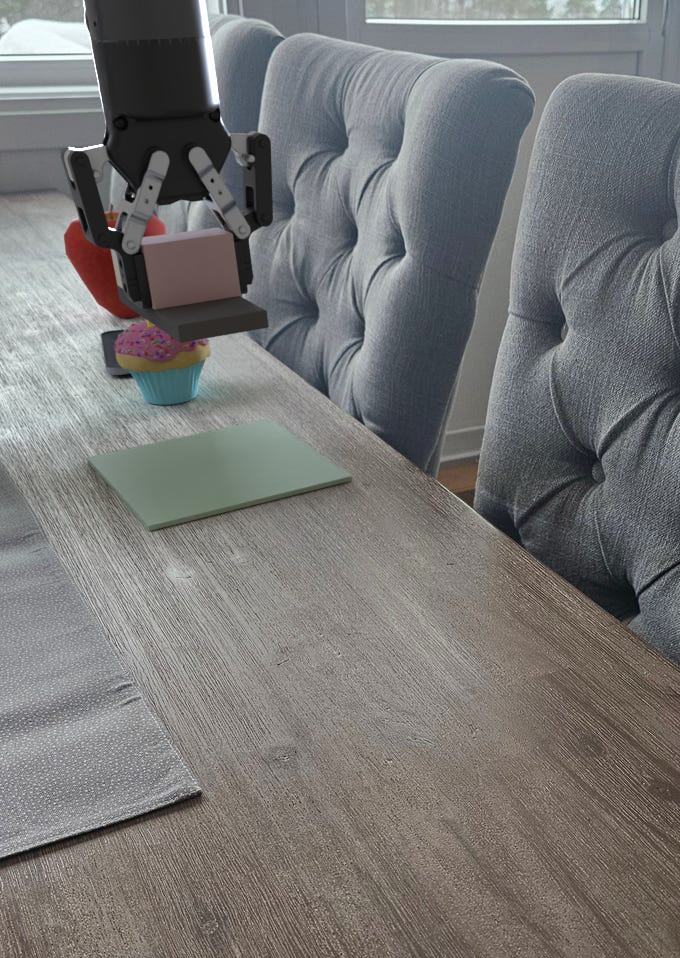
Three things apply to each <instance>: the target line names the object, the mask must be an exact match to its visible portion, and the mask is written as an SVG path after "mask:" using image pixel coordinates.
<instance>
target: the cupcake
mask: <svg viewBox="0 0 680 958" xmlns="http://www.w3.org/2000/svg"><path fill="white" fill-rule="evenodd" d="M124 329H125V330H124V331H123V332H122V334H119V335H118V339H117V340H116V342H115V346H114V350H115V352H116V359H117V362H118V363H119V365H120V366H121V367H122V368H124V369H127V370H129V372H130V373H129V374H130V375H131V377H132V378H133V380H134V381H135V383H136V385H137V386H138V388H139V390H140V392H141V394H142V396H143V399H144V400H145V401H146V402H147V403H148V404H152V405H157V406H170V405H171V406H172V405H178V404H183V403H186V402H189V401H192V400H193V399H195V398H196V397H197V396H198V390H199V382H200V378H201V373H202V370H203V367H204V365H205V363H206V361H207V358H209V357H211V355H212V350H211V346H210V345H211V344H210V340H209V338H206V339H200V340H194V341H188V342H183V343H180V342H179V341H177V340H176V339H174V338H173V337H171V336H170V335H168V334H167V333H166V332H164V331H163V330H161V329H160V328H158V327H157V326H155V325H154V324H153V323H151V322H150V321H148V320H147V319H144V320H142V321H139V322H136V323H131V324H130V326H128V327H127V328H124Z"/></svg>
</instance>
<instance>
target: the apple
mask: <svg viewBox="0 0 680 958" xmlns="http://www.w3.org/2000/svg"><path fill="white" fill-rule="evenodd" d="M104 212H105V216H106V219H107V223H108V226H109V228H113V229H114V228H115V225H116V221H117V218H118V215H119V210H114V205H113V204H112V202H110V207H109V211H104ZM166 229H167V228H166V225H165V223H164V222H163V221H162V220H161V219H160V218H159V217H158V216H156V214H154V213H153V214H152V218H151V220H150V222H149V223H148V224H147V226H146V229H145V232H144V235H143V237H149V236H157V235H165V234H167V230H166ZM63 241H64V250H65V251H64V252H65V255H66V257H67V259H68V260H69V262H70V263H71V265H72V267H73V268H74V270H75V271H76V273H77V275H78V276H79V278H80V279H81V281H82V283H83V284H84V286H85V287H86V288H87V290H88V291H89V293H90V294H91V296H92V297H93V299H94V300H95V302H96V303H97V305H99V306H100V307H102V308H103V309H105V310H106V311H107V312H108V313H110V314H111V315H112V316H114V317H117V318H135V317H142V316H141V315H139V314H138V313H137V312H135V311H134V310H132V309H131V308H129V307H128V306H126V305H125V304H124V303H122V302H121V301H120V299H119V294H118V289H117V286H118V285H117V280H116V275H115V270H114V265H113V259H112V254H111V249H108V248H101V247H98V246H97V245H95V244H93V243H92V242H90V241H89V240H87V239H86V238H85V236H84V233H83V230H82V226H81V223H80V220H79V217H76V218H73V219H71V222H70V223H69V225H68V227H67V228H66V230H65V232H64V234H63Z"/></svg>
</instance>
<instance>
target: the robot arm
mask: <svg viewBox="0 0 680 958" xmlns="http://www.w3.org/2000/svg"><path fill="white" fill-rule="evenodd" d="M82 2H83V3H82V4H83V8H84V9H83V10H84V14H83V17H84V24H85V29H86V30H87V33H88V35H89V36H88V37H89V41H90V46H91V51H92V57H93V63H94V68H95V69H94V70H95V74H96V79H97V84H98V91H99V95H100V101H101V107H102V112H103V118H104V124H105V130H104V136H103V139H102V142H101V143H102V144H98V145H97V144H96V145H92V146H88V147H83V148H75V147H72V146H67V147H64V148H63V149H62V151H61V153H60V159H61V162H62V166H63V169H64V172H65V176H66V180H67V183H68V186H69V189H70V192H71V196H72V199H73V203H74V207H75V209H76V213H77V216H78V218H79V220H80V223H81V226H82V230H83V233H84V236H85V238H86V239H87V240H89V241H90V242H92V243H93V244H95V245H97V246H98V247H101V248H108V249H113V250H114V251H115V253H116V255H117V260H118V265H119V270H120V276H121V281H122V286H123V291H124V293H125V295H126V296H127V298H128V299H130V300H131V301H132V302H135V305H136V306H137V307H139V308H140V309H142V310H144V309H150V308H152V299H151V294H150V288H149V282H148V277H147V271H146V265H145V260H144V254H142V253H141V252H139V248H140V245H141V242H142V239H143V235H144V232H145V229H146V226H147V224H148V223H149V222H150V220H151V218H152V214H154V211H155V207H156V206H159V207H162V206H170V205H172V204H175V203H177V202H180V201H186V202H191V203H194V202H203V204H204V205H205V206H206V207H207V208H208V209H209V210H210V212H211V213H212V214H213V216H214V217H215V219H216V221H217V222H218V224H219V225H220V228H221V229H223V230H225V231H228V232H230V233H232V234H233V239H234V247H235V254H236V262H237V269H238V277H239V284H240V292H241V295H246V294H248V286H249V285H252V284H253V280H254V271H253V263H252V254H251V247H250V238H251V236H252V235H253V233H254V232H256V231H257V230H259V229H260V228H262V227H264V228H268V227H269V226H271V224H272V223H273V221H274V202H273V200H274V199H273V169H272V168H273V167H272V142H271V139H270V137H269V136H268V135H267V134H265V133H262V132H260V131H259V132H258V131H255V130H246V131H245V132H229V130H228V129H227V127H226V125H225V123H224V121H223V118H222V114H221V102H220V93H219V87H218V79H217V71H216V64H215V63H216V62H215V56H214V49H213V42H212V41H213V40H212V33H211V27H210V18H209V11H208V3H207V0H82ZM231 151H232V152H233V154H234V158H235V161H236V163H237V164H238V165H239V166H241V167H242V188H243V189H242V190H243V206H244V207H243V209H242V210H240V208H239V207H238V206H237V203H236V199H235V197H234V196H233V195H232V193H231V191H230V190H229V188H228V187H227V185H226V184H225V182H224V180H223V179H222V178H221V176H220V173H221V171H222V170H223V167H224V165H225V163H226V160H227V159H228V157H229V155H230V153H231ZM106 163H109V164H110V166H111V167H112V168H113V169H114V170H115V171H116V172H117V173H118V174H119V175H120V176H121V178H122V179H123V180H124V181H125V183H124V187H123V189H122V193H121V197H120V201H119V204H118V211H119V215H118V218H117V221H116V225H115V228H114V229H113V228H109V226H108V223H107V219H106V216H105V212H106V211H105V209H104V205H103V202H102V199H101V196H100V191H99V188H98V184H100V183H101V182H102V181H103V178H104V166H105V165H106Z"/></svg>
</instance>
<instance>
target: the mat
mask: <svg viewBox="0 0 680 958" xmlns="http://www.w3.org/2000/svg"><path fill="white" fill-rule="evenodd" d="M86 461H87V463H88V464H89V465H90V466H91V467H92V468H93V470H94V471H95V472H96V473H97V474H98V475H99V477H101V478H102V480H103V481H104V482H105V483H106V484H107V485H108V487H110V489H111V490H112V491H113V492H114V493H115V494H116V496H117V497H118V498H119V499H120V500H121V501H122V502H123V503H124V505H125V506H127V508H129V510H130V511H131V512H132V513H133V514H134V516H135V517H136V518H137V519H138V520H139V521H140V523H142V525H144V527H145V528H146V529H147V530H148V531H149V532H152V531H155V530H160V529H164V528H167V527H171V526H176V525H180V524H184V523H188V522H193V521H196V520H199V519H200V520H201V519H205V518H207V517H212V516H216V515H220V514H225V513H228V512H232V511H236V510H240V509H244V508H248V507H252V506H255V505H260V504H264V503H268V502H272V501H276V500H280V499H284V498H289V497H293V496H296V495H300V494H303V493H308V492H312V491H316V490H320V489H324V488H329V487H332V486H335V485H336V486H337V485H340V484H344V483H348V482H352V481H353V476H352V474H350V473H349V472H347V471H345V470H344V469H342V468H341V467H340V466H339V465H337V464H336V463H334V462H333V461H332V460H330V459H329V458H327V456H324V455H323V454H322V453H320V451H319V452H318V451H317V450H316V449H314V448H313V447H311V446H310V445H309V444H308V443H306V442H305V441H303V440H302V439H300V438H299V436H296V435H295V434H293V433H292V432H291V431H289V430H288V429H286V428H285V427H284V426H282V425H281V424H279V423H278V422H276V421H275V420H274V419H272V418H271V417H269V418H265V419H260V420H256V421H250V422H245V423H241V424H237V425H231V426H228V427H223V428H219V429H214V430H208V431H205V432H203V431H202V432H200V433H194V434H190V435H186V436H181V437H180V436H179V437H176V438H171V439H167V440H162V441H158V442H157V441H156V442H153V443H148V444H143V445H139V446H134V447H130V448H124V449H119V450H115V451H111V452H106V453H102V454H97V455H92V456H88V457H86Z"/></svg>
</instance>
